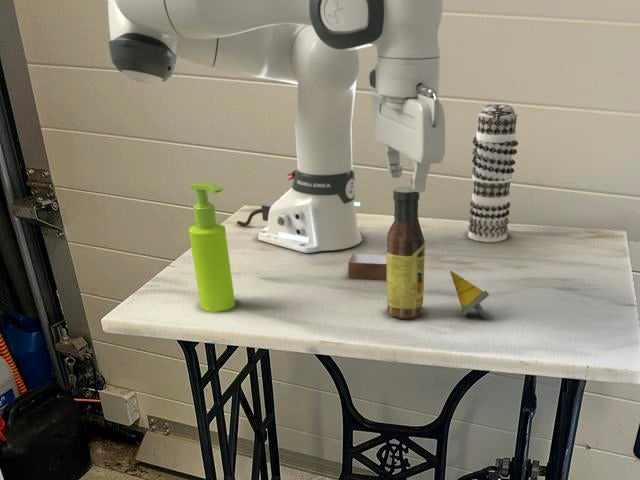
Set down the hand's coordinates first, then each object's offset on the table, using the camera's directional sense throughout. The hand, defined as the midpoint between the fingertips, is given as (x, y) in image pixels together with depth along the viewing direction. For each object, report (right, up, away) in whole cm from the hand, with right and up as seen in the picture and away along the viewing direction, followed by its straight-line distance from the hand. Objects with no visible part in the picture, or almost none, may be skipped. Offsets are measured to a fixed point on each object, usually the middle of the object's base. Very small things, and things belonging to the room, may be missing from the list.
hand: (406, 183), depth 112 cm
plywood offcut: (-6, -5, +28) cm, 29 cm away
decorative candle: (+19, +10, +47) cm, 52 cm away
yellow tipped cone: (+11, -17, +12) cm, 24 cm away
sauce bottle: (0, -17, +13) cm, 21 cm away
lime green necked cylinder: (-32, -15, +15) cm, 38 cm away
